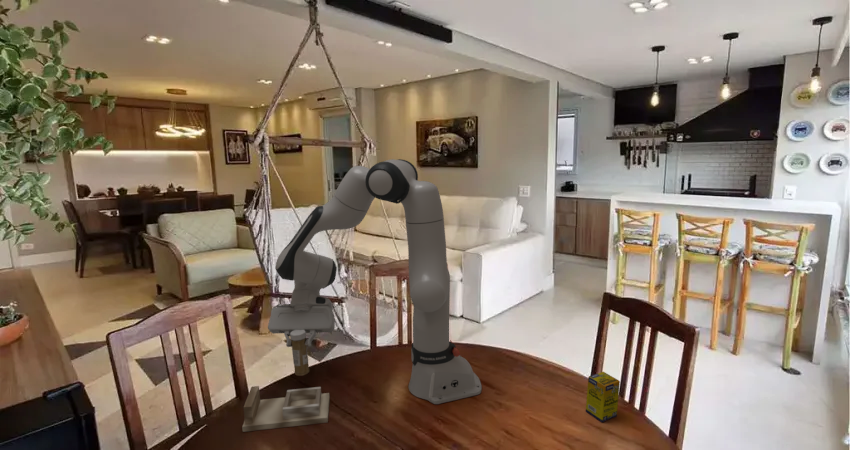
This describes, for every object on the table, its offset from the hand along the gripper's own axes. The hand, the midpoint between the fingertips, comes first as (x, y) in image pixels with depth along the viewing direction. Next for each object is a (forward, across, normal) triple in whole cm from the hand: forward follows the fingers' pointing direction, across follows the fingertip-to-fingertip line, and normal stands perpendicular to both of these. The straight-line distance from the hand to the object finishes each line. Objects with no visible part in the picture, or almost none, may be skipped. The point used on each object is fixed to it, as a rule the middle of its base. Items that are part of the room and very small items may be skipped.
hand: (298, 346), depth 133 cm
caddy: (+19, 0, +1) cm, 19 cm away
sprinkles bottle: (+6, 0, +7) cm, 9 cm away
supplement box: (+21, +87, +2) cm, 90 cm away
